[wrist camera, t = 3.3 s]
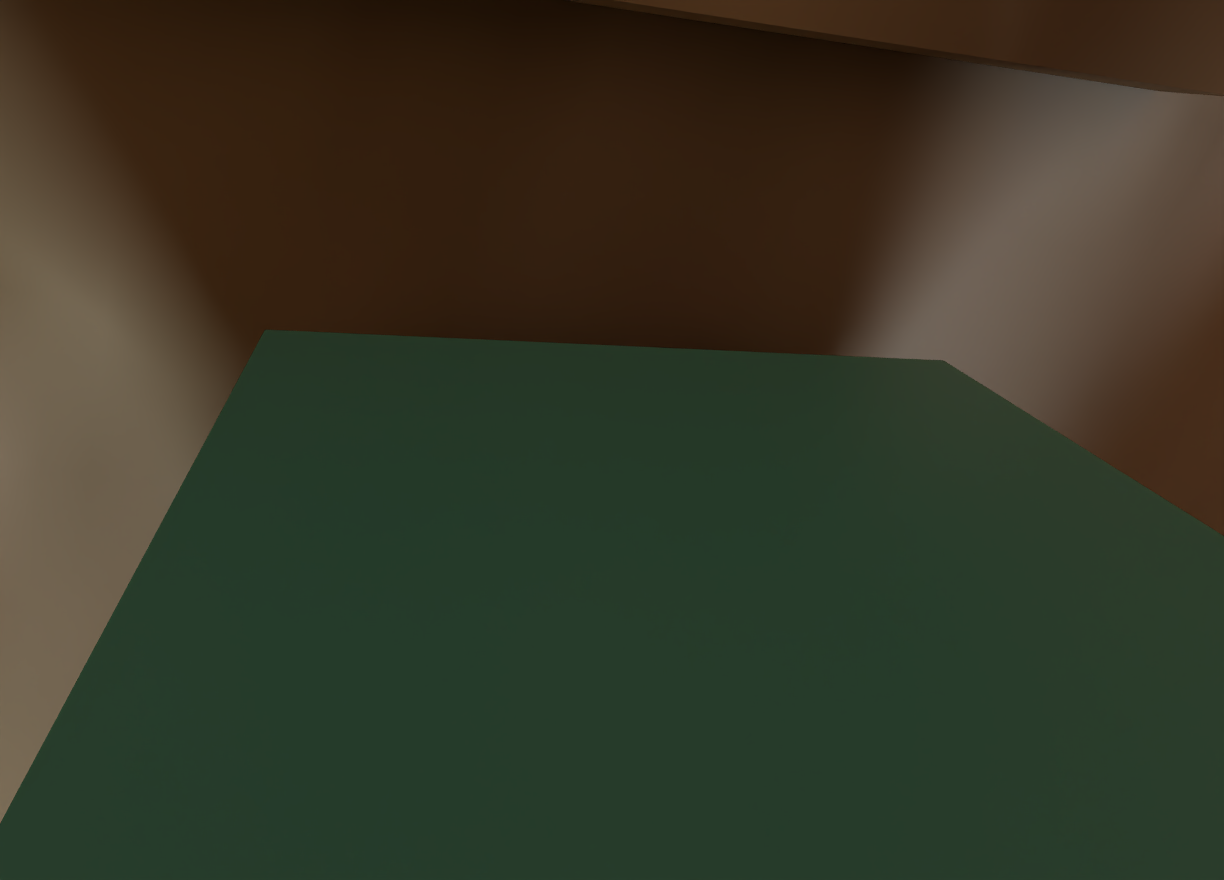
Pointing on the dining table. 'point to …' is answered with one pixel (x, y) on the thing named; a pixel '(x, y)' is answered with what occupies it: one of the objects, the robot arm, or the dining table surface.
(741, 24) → the keyed post base
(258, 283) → the dining table surface
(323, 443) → the teal drawer cube
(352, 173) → the dining table surface
